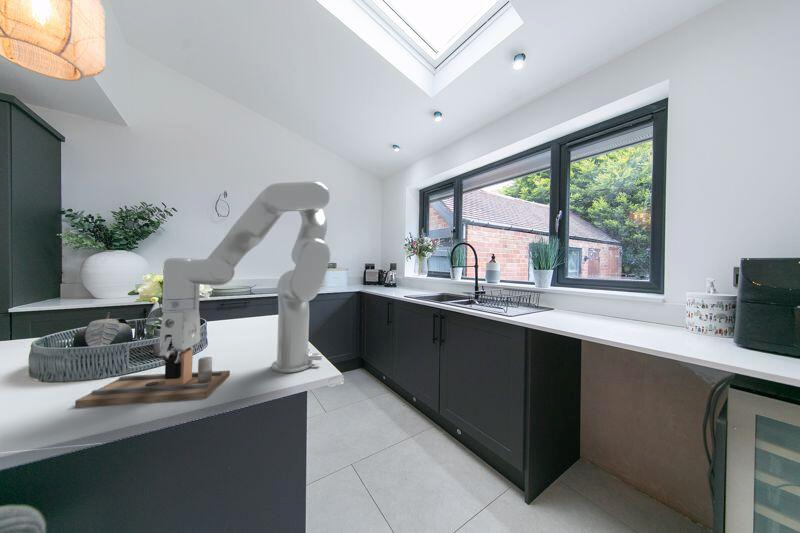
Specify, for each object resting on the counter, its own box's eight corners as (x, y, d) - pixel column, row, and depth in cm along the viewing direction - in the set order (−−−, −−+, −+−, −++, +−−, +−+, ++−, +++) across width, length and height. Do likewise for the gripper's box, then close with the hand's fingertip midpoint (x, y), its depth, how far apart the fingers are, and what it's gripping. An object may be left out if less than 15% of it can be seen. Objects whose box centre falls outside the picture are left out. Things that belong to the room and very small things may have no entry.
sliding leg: (191, 378, 73) (192, 346, 73) (183, 384, 69) (184, 351, 69) (174, 379, 72) (175, 347, 72) (165, 385, 68) (166, 351, 68)
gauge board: (229, 375, 79) (230, 350, 79) (206, 398, 66) (207, 367, 66) (124, 381, 74) (125, 354, 74) (75, 407, 60) (76, 373, 60)
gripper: (178, 309, 63) (176, 387, 63) (212, 300, 80) (210, 362, 80) (141, 310, 61) (138, 389, 61) (183, 300, 78) (181, 363, 78)
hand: (179, 373), depth 70 cm, fingers open, 4 cm apart
